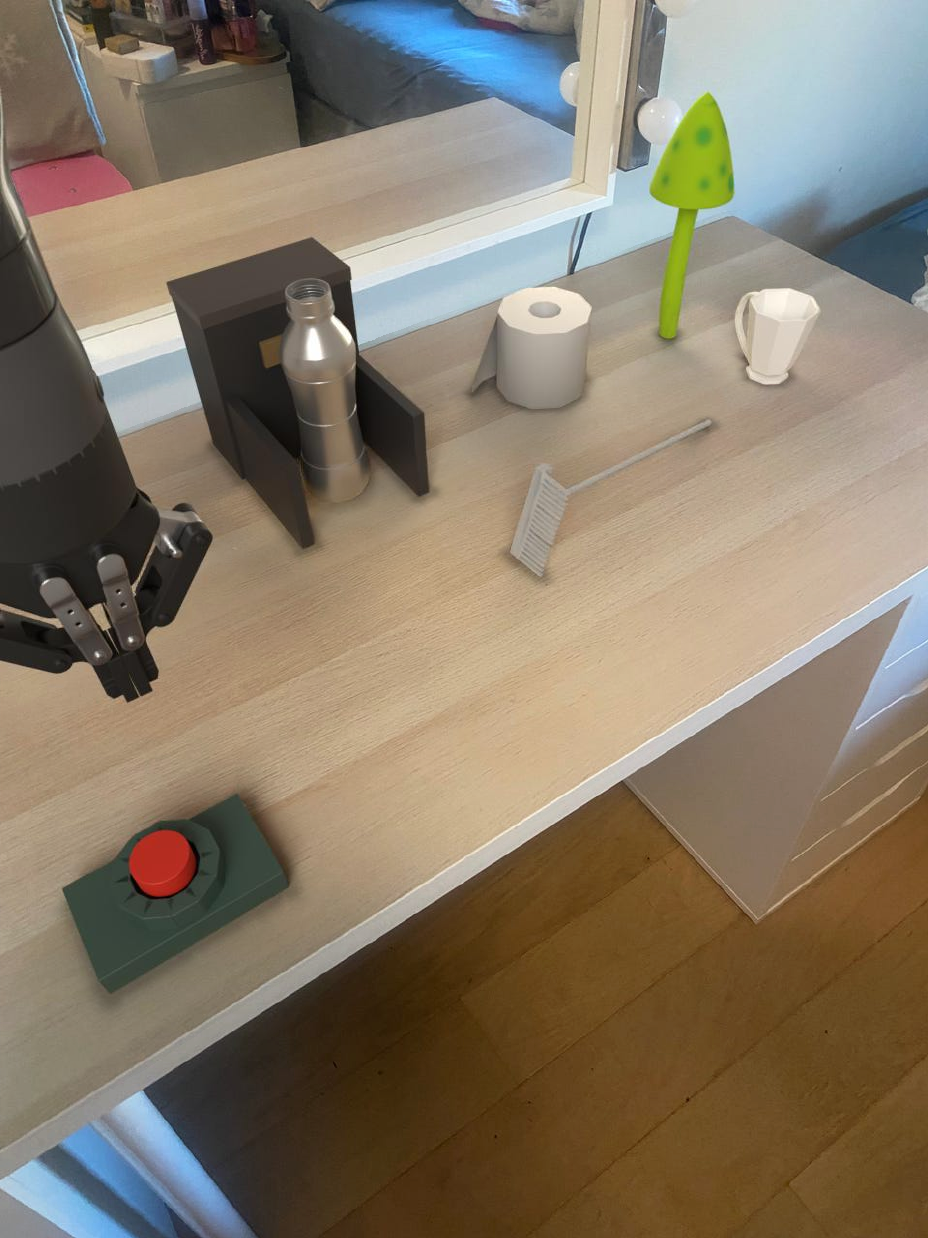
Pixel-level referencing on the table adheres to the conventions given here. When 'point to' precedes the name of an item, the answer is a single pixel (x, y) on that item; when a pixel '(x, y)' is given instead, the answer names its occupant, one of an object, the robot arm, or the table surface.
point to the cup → (775, 331)
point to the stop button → (162, 863)
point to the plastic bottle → (323, 393)
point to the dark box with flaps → (281, 376)
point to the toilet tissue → (538, 347)
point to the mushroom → (691, 192)
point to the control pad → (164, 926)
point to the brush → (542, 501)
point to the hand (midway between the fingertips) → (134, 686)
